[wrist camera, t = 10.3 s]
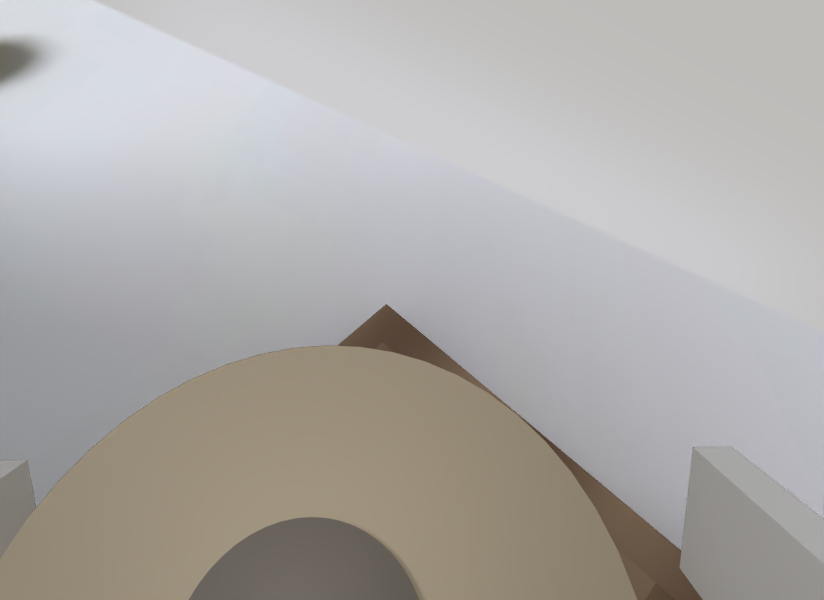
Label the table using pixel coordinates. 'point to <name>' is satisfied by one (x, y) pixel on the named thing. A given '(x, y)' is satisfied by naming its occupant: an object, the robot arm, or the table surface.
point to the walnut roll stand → (633, 537)
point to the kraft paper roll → (318, 495)
